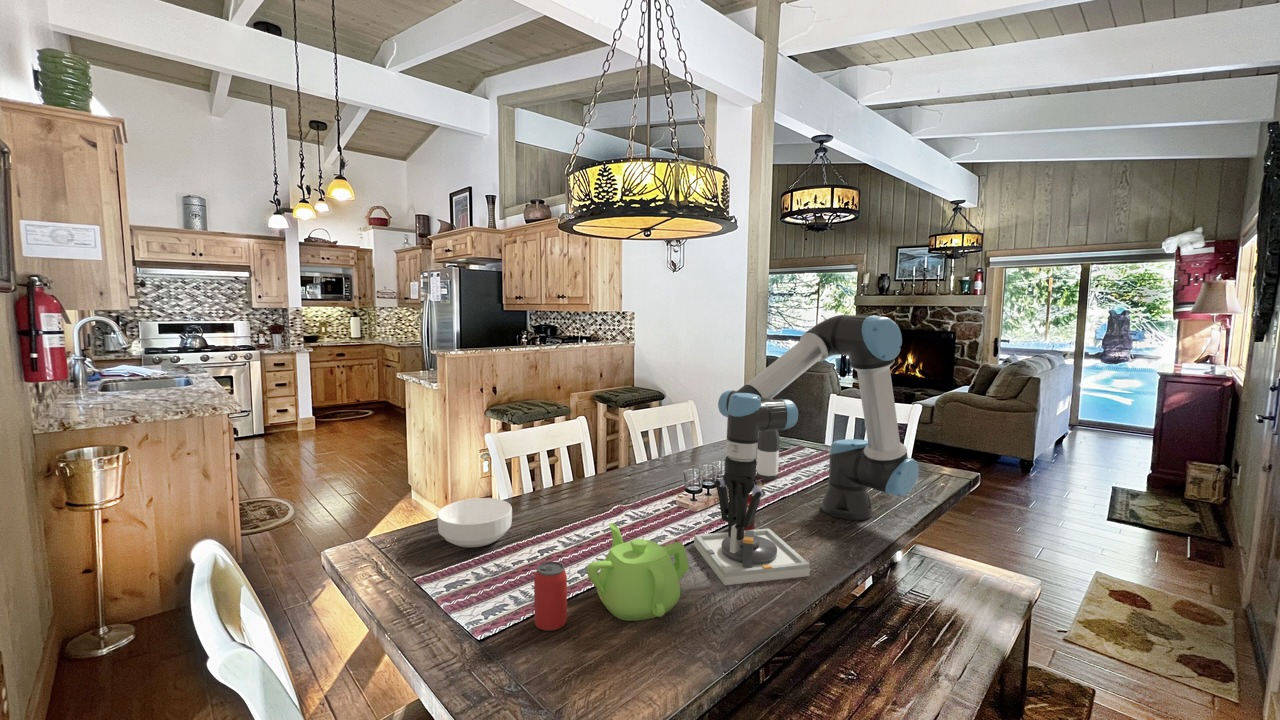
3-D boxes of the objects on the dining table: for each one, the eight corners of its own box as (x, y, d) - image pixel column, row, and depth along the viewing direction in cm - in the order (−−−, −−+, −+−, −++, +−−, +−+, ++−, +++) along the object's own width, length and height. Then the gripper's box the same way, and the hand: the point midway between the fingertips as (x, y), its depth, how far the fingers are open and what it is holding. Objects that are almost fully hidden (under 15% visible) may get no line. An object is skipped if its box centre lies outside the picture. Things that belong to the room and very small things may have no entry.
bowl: (526, 539, 156) (526, 510, 155) (461, 563, 142) (461, 530, 141) (487, 520, 169) (487, 493, 168) (424, 540, 155) (424, 510, 154)
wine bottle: (756, 479, 211) (759, 400, 208) (755, 472, 219) (758, 396, 216) (778, 480, 210) (782, 401, 207) (777, 474, 218) (780, 397, 215)
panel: (768, 538, 159) (768, 527, 158) (809, 575, 137) (810, 562, 137) (694, 545, 153) (694, 533, 153) (724, 585, 132) (725, 571, 132)
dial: (723, 537, 153) (724, 513, 153) (776, 543, 150) (777, 518, 150) (718, 563, 138) (719, 537, 137) (777, 570, 135) (778, 543, 134)
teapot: (666, 636, 112) (667, 566, 110) (575, 616, 119) (575, 550, 117) (690, 591, 130) (691, 530, 128) (610, 575, 136) (610, 518, 135)
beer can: (536, 614, 119) (535, 560, 118) (567, 613, 119) (567, 559, 118) (532, 633, 112) (532, 575, 111) (566, 631, 113) (566, 574, 112)
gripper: (710, 454, 137) (704, 547, 140) (757, 466, 129) (750, 564, 132) (726, 449, 143) (720, 538, 145) (772, 460, 135) (765, 554, 137)
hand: (734, 550), depth 139 cm, fingers closed
